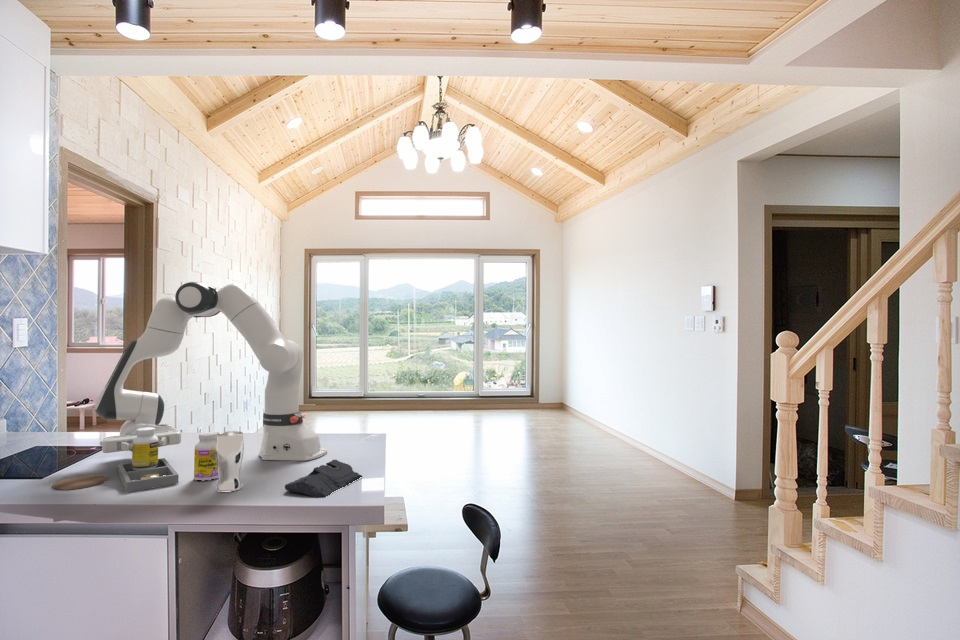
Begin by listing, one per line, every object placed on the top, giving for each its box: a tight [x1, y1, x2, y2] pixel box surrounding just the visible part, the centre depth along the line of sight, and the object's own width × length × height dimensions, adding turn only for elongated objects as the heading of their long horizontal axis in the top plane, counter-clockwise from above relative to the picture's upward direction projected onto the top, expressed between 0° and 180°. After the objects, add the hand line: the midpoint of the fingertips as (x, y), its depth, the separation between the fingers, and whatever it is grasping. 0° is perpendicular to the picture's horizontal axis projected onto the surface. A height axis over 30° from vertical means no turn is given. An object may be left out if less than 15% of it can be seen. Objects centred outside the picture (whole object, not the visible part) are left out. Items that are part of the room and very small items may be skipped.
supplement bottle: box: [193, 431, 218, 481], centre depth 151 cm, size 7×7×13 cm
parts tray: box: [117, 457, 180, 493], centre depth 151 cm, size 23×12×2 cm, turn 39°
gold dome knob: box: [140, 474, 159, 480], centre depth 146 cm, size 4×4×2 cm
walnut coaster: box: [52, 474, 108, 491], centre depth 145 cm, size 12×12×1 cm
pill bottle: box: [131, 427, 159, 470], centre depth 155 cm, size 6×6×12 cm
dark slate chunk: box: [284, 459, 363, 498], centre depth 147 cm, size 15×22×5 cm
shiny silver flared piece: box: [215, 430, 245, 492], centre depth 141 cm, size 7×7×15 cm
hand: (146, 445), depth 154 cm, fingers closed on pill bottle, 6 cm apart
